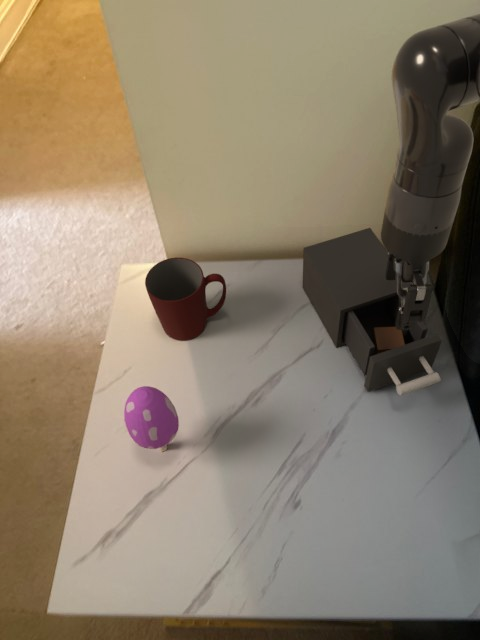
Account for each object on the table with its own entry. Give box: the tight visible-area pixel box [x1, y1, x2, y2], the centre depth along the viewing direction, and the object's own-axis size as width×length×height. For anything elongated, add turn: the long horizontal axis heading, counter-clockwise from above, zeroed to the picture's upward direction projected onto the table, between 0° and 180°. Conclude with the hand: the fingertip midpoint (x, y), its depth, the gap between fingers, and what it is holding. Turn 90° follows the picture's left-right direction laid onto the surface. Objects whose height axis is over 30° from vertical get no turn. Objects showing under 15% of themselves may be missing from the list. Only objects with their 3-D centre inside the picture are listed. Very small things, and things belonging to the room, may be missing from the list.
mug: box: [144, 257, 227, 342], centre depth 89 cm, size 12×9×11 cm
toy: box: [123, 385, 180, 452], centre depth 74 cm, size 7×7×15 cm
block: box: [371, 327, 405, 355], centre depth 83 cm, size 4×4×4 cm
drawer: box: [342, 295, 443, 396], centre depth 82 cm, size 17×10×8 cm, turn 19°
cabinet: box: [301, 227, 412, 349], centre depth 89 cm, size 14×12×10 cm
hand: (398, 301), depth 75 cm, fingers open, 8 cm apart
